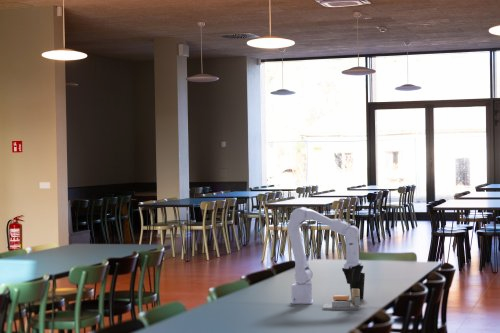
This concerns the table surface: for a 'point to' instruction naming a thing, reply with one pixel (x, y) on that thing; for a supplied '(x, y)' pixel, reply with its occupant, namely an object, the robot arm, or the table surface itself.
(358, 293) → the peg
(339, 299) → the pin
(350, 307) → the dock
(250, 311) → the table surface
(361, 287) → the cup
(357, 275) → the robot arm
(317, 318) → the table surface
